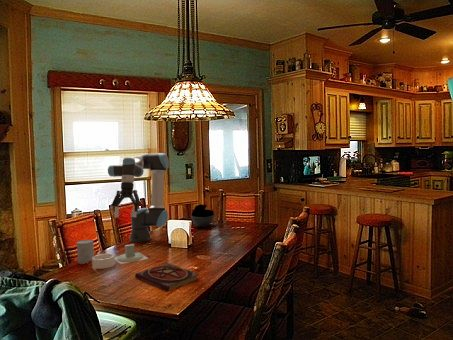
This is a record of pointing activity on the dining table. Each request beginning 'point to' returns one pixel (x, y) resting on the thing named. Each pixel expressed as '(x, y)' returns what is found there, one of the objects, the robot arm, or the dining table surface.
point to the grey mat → (130, 261)
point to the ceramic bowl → (103, 261)
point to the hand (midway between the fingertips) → (125, 217)
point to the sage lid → (130, 254)
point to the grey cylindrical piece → (85, 251)
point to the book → (167, 276)
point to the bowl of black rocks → (202, 216)
